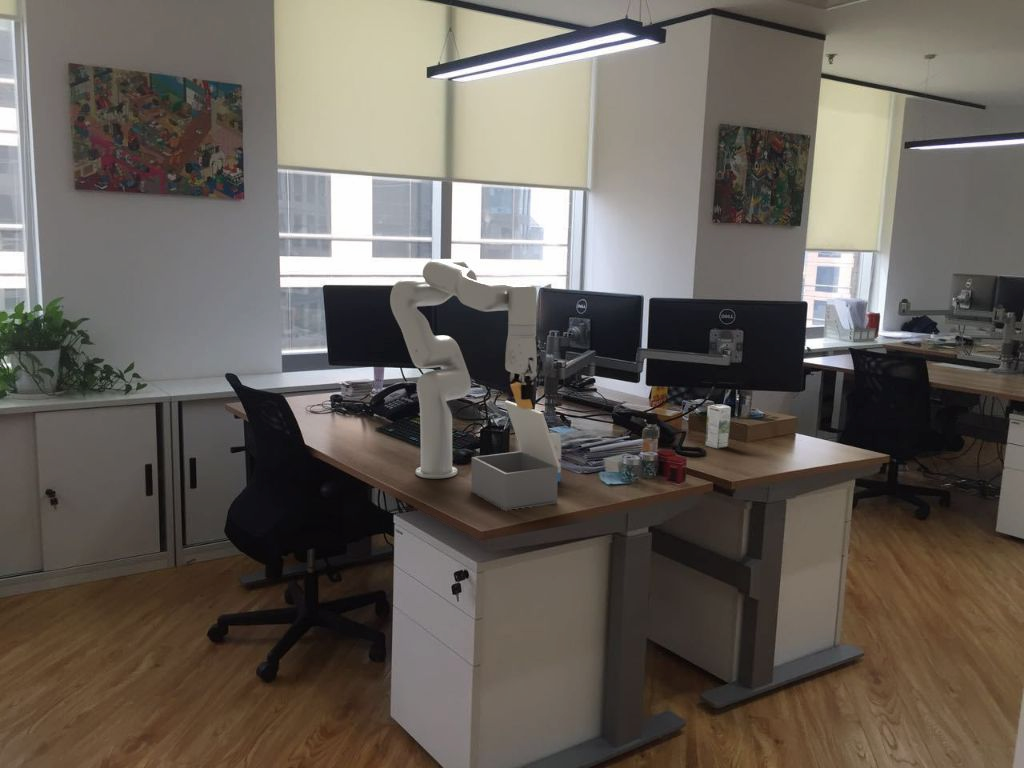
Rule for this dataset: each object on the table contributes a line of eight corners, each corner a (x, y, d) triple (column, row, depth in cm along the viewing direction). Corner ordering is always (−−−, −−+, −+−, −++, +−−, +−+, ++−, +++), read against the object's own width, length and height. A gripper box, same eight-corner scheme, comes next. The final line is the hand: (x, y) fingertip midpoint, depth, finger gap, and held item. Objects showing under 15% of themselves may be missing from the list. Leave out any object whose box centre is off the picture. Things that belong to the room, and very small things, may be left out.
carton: (471, 491, 241) (471, 457, 239) (520, 484, 248) (521, 451, 247) (505, 511, 223) (505, 474, 222) (557, 502, 231) (557, 467, 229)
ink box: (558, 477, 256) (559, 429, 254) (561, 482, 251) (561, 433, 249) (530, 478, 255) (531, 429, 253) (532, 482, 251) (533, 433, 248)
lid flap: (497, 380, 239) (503, 377, 240) (521, 450, 247) (526, 447, 247) (533, 391, 222) (539, 388, 223) (557, 466, 229) (563, 463, 230)
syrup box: (716, 443, 302) (718, 403, 300) (729, 447, 297) (731, 406, 295) (704, 445, 299) (706, 405, 297) (717, 449, 294) (719, 407, 292)
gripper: (495, 328, 235) (494, 393, 238) (525, 334, 220) (524, 403, 223) (519, 327, 238) (518, 391, 241) (550, 333, 224) (549, 401, 227)
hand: (521, 396), depth 232 cm, fingers closed on lid flap, 5 cm apart
